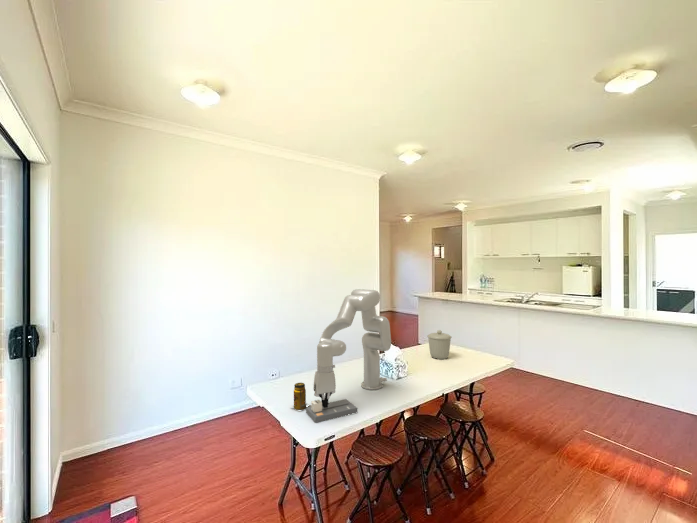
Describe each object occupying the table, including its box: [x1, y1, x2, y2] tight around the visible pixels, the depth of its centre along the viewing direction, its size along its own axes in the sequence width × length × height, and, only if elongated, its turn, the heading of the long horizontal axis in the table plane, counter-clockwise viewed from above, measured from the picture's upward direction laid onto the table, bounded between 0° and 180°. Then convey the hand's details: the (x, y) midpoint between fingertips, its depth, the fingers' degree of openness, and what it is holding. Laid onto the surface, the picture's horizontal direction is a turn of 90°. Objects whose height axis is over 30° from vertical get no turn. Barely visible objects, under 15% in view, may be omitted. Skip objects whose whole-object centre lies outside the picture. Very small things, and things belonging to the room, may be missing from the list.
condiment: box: [293, 382, 311, 412], centre depth 171 cm, size 7×8×12 cm
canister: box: [427, 329, 452, 360], centre depth 260 cm, size 18×18×21 cm
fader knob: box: [310, 399, 322, 413], centre depth 161 cm, size 4×4×4 cm
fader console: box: [305, 398, 358, 424], centre depth 164 cm, size 22×12×3 cm, turn 118°
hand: (324, 406), depth 162 cm, fingers closed
